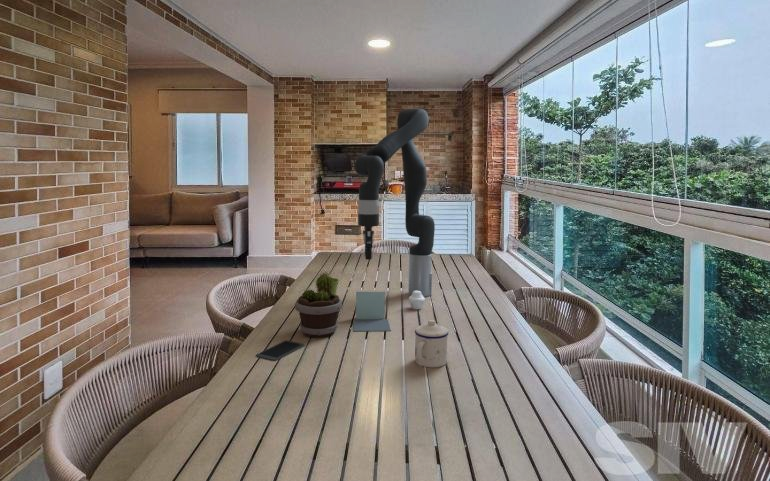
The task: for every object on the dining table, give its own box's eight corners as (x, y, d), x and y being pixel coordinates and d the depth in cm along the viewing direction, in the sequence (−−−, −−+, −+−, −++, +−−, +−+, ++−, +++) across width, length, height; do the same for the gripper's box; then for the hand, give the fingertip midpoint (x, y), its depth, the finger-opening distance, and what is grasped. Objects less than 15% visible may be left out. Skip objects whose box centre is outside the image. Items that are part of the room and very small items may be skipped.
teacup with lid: (423, 352, 139) (424, 313, 138) (452, 359, 135) (454, 319, 133) (402, 367, 129) (403, 325, 128) (433, 375, 125) (434, 331, 123)
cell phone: (254, 357, 135) (254, 355, 135) (286, 342, 148) (286, 339, 147) (275, 362, 132) (275, 360, 132) (305, 346, 144) (305, 344, 144)
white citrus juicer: (423, 311, 180) (424, 292, 179) (407, 309, 181) (407, 291, 180) (425, 306, 186) (426, 288, 185) (409, 305, 187) (410, 287, 186)
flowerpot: (323, 344, 145) (322, 278, 142) (285, 334, 153) (284, 272, 150) (351, 330, 157) (352, 270, 154) (315, 322, 165) (314, 264, 162)
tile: (384, 317, 172) (384, 290, 170) (384, 319, 170) (385, 291, 168) (356, 317, 171) (356, 290, 169) (356, 319, 169) (356, 291, 168)
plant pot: (335, 305, 185) (335, 283, 184) (311, 304, 187) (311, 282, 186) (342, 299, 194) (342, 278, 193) (319, 297, 196) (319, 276, 195)
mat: (387, 319, 169) (387, 319, 169) (390, 331, 157) (390, 330, 157) (353, 319, 168) (353, 319, 168) (353, 331, 157) (353, 331, 157)
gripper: (380, 214, 166) (379, 261, 169) (378, 210, 181) (377, 253, 183) (358, 214, 166) (357, 260, 168) (357, 210, 180) (357, 253, 182)
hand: (368, 257), depth 176 cm, fingers open, 8 cm apart
